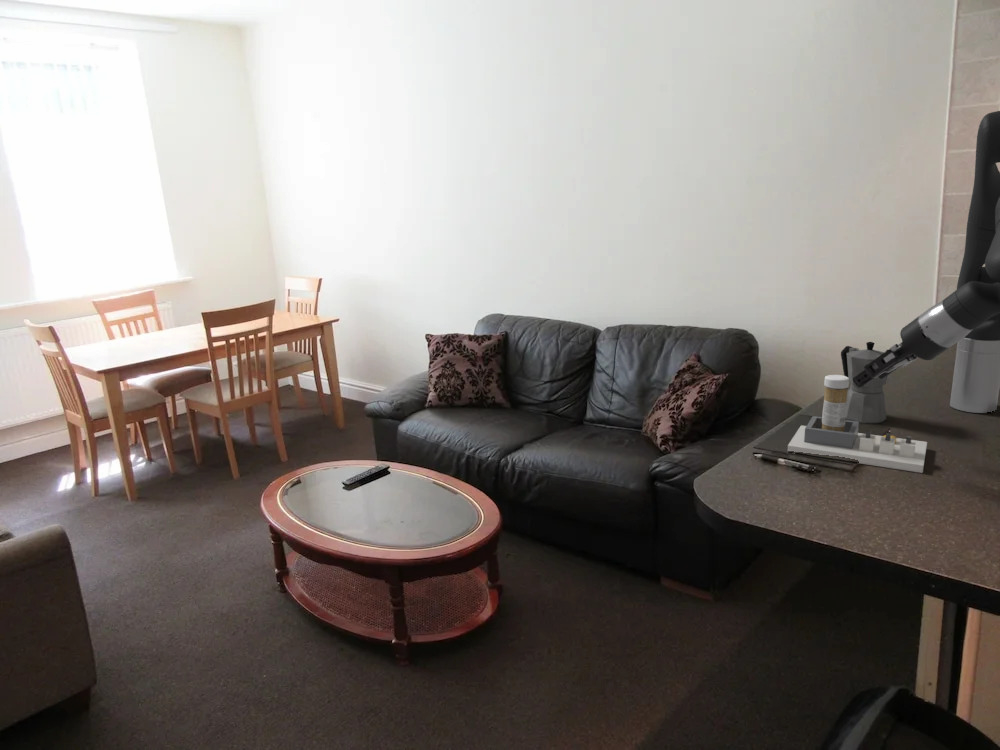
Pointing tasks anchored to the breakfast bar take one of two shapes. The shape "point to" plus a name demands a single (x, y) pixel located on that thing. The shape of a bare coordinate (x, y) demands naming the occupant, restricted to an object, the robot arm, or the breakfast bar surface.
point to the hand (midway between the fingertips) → (867, 379)
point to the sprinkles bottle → (835, 402)
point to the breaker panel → (864, 454)
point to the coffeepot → (869, 398)
